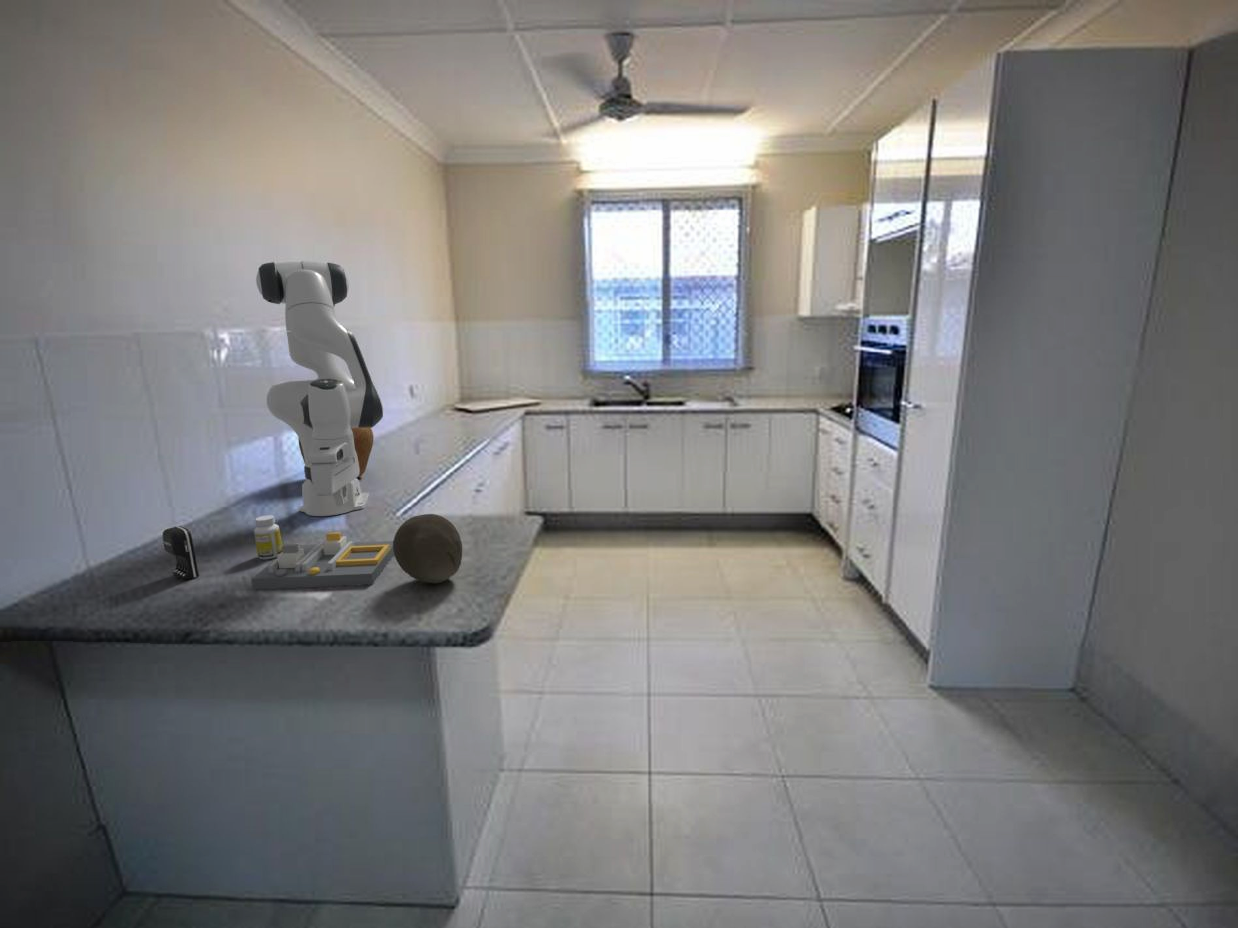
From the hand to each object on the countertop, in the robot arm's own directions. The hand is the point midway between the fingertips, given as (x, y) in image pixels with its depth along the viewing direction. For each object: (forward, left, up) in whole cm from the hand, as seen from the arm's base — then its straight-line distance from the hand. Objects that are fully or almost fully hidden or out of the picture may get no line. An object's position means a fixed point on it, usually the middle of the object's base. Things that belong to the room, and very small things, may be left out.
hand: (341, 504), depth 152 cm
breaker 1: (+14, -7, -10) cm, 18 cm away
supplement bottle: (+1, -18, -13) cm, 22 cm away
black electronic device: (+12, -32, -12) cm, 36 cm away
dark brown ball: (+21, +25, -12) cm, 35 cm away
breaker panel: (+11, 0, -12) cm, 16 cm away
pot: (-73, -27, -12) cm, 79 cm away
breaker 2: (+7, 0, -10) cm, 12 cm away
